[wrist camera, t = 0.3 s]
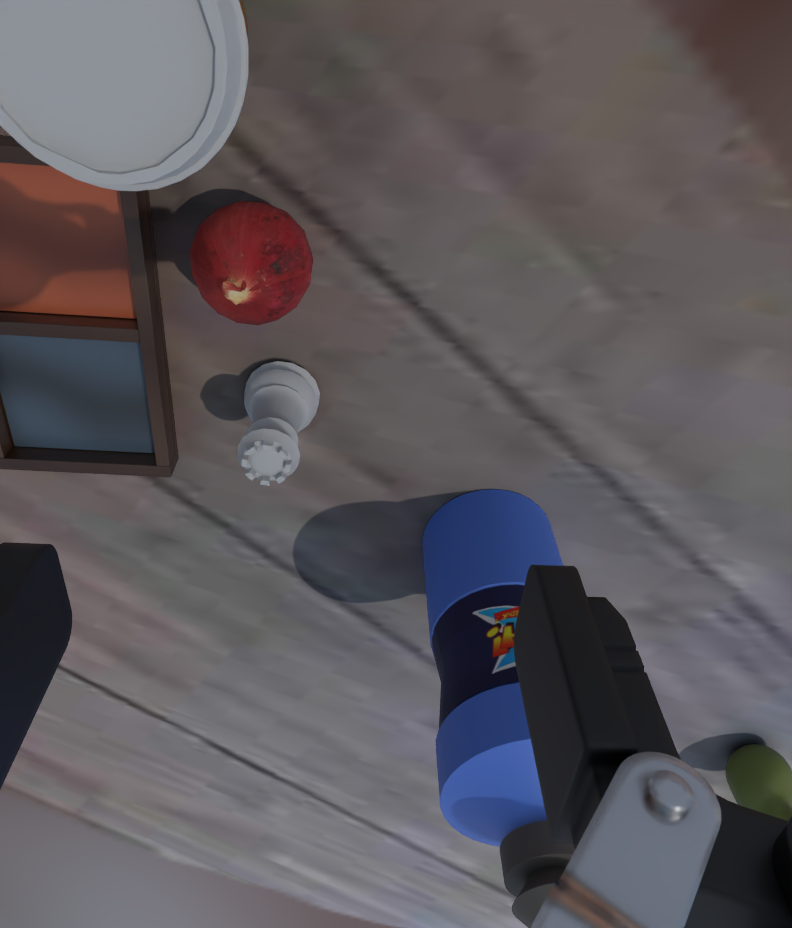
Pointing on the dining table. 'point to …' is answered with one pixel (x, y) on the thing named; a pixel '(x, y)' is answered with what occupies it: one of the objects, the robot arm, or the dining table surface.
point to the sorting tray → (79, 326)
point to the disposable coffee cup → (122, 85)
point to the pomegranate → (251, 262)
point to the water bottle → (489, 683)
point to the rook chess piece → (276, 420)
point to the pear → (761, 780)
